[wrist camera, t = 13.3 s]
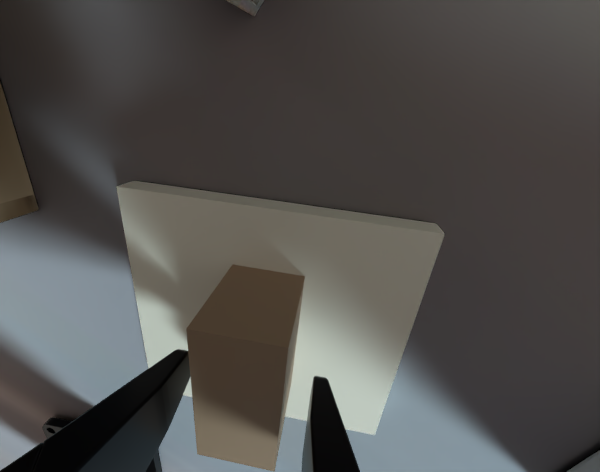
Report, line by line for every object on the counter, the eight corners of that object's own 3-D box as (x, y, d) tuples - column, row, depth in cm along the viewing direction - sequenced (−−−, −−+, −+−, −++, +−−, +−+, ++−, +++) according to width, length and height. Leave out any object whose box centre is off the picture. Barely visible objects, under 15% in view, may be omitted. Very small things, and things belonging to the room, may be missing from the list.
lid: (432, 218, 9) (498, 299, 5) (372, 406, 13) (384, 533, 9) (142, 177, 10) (12, 221, 6) (168, 365, 14) (98, 466, 10)
